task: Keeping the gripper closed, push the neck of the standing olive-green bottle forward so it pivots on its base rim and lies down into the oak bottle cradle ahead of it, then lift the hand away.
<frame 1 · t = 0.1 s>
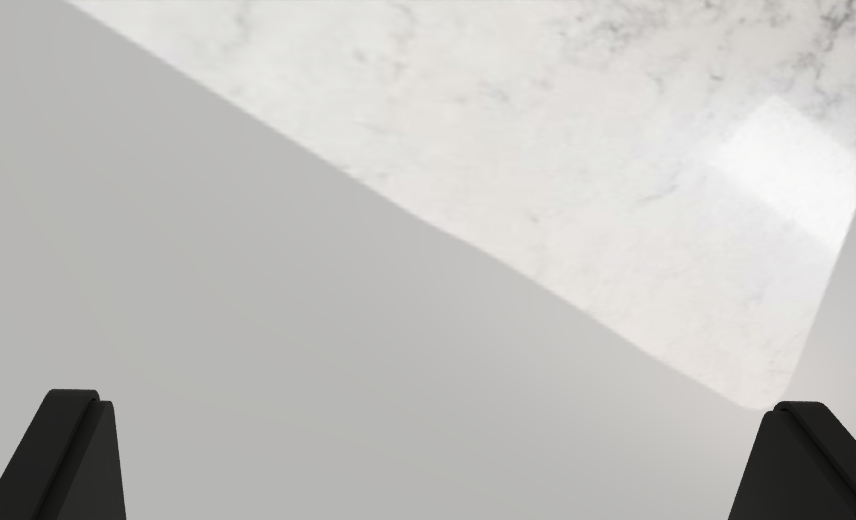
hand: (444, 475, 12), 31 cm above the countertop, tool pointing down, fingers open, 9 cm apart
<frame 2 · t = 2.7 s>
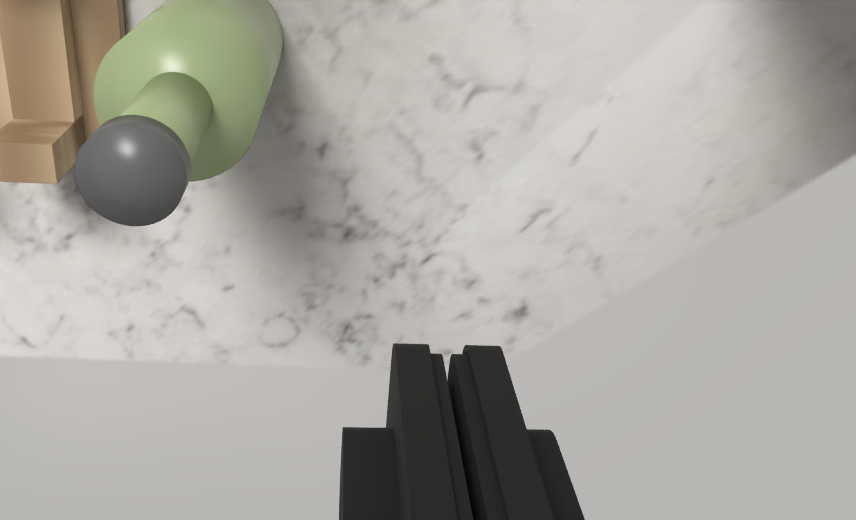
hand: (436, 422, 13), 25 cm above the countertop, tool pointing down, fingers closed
bottle: (223, 37, 34), on the countertop
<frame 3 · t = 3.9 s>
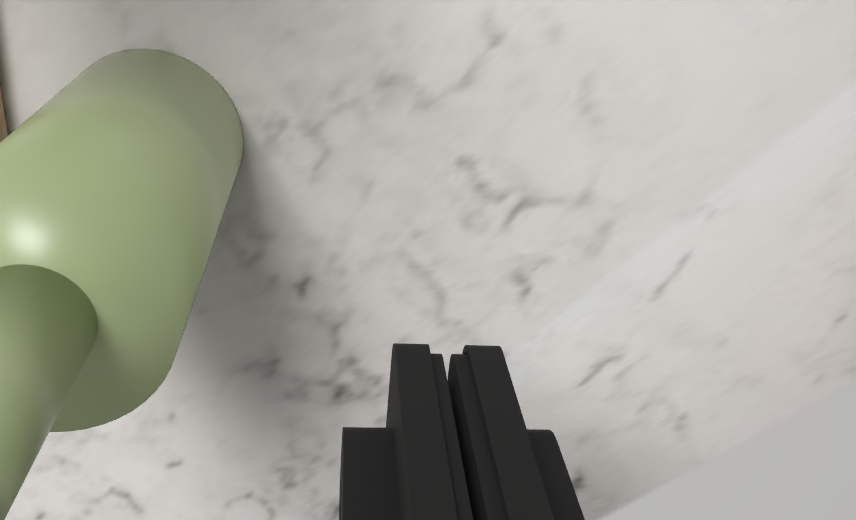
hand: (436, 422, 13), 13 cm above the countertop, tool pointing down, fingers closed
bottle: (154, 136, 23), on the countertop
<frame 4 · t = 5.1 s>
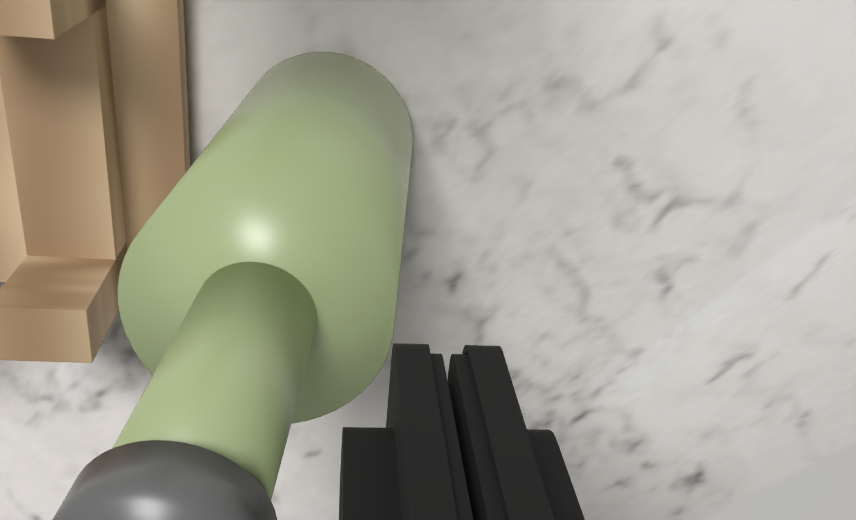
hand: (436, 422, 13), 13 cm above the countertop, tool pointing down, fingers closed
bottle: (327, 138, 23), on the countertop, tilted 5°
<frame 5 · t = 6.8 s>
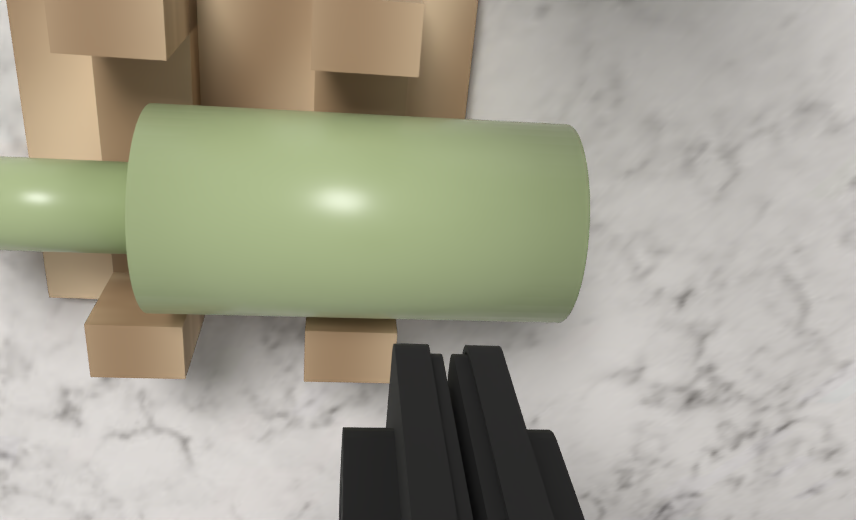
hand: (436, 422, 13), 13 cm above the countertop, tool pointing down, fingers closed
bottle: (558, 224, 20), point 4 cm above the countertop, tilted 90°, touching rest
rest: (252, 141, 23), on the countertop
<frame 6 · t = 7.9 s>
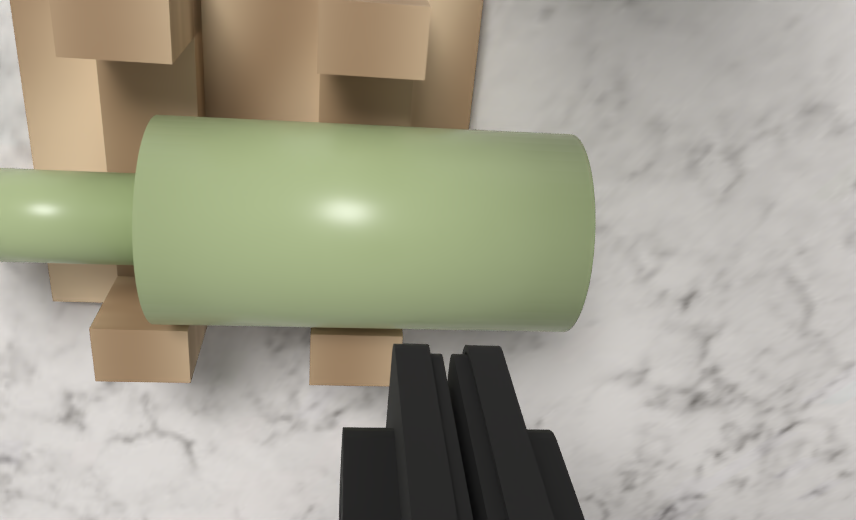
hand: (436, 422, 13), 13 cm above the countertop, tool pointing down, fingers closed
bottle: (563, 233, 20), point 4 cm above the countertop, tilted 90°, touching rest
rest: (257, 144, 23), on the countertop
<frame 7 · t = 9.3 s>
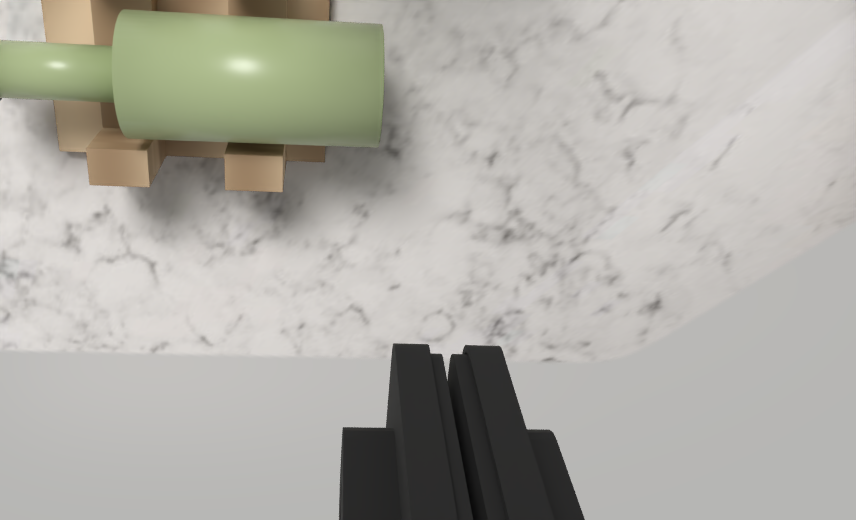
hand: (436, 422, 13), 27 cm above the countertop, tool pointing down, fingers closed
bottle: (379, 86, 33), point 4 cm above the countertop, tilted 90°, touching rest
rest: (192, 44, 36), on the countertop
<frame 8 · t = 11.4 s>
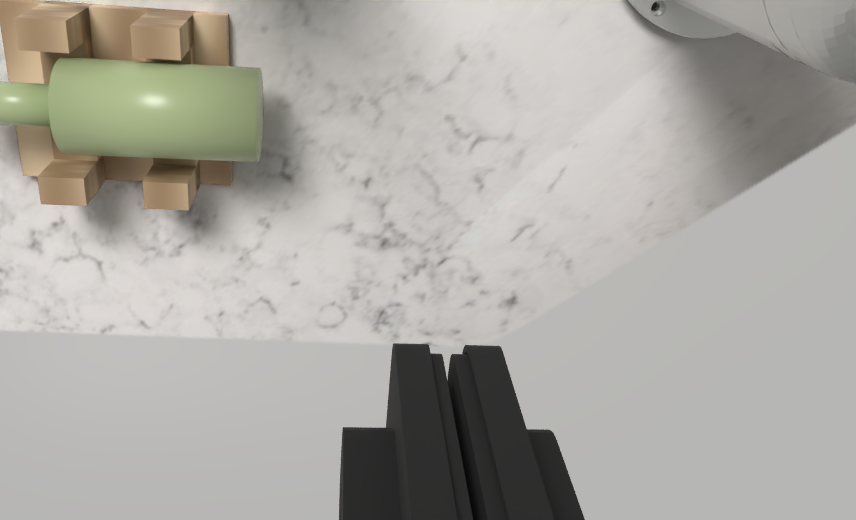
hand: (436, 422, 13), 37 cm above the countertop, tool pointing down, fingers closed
bottle: (259, 115, 43), point 4 cm above the countertop, tilted 90°, touching rest
rest: (124, 94, 46), on the countertop
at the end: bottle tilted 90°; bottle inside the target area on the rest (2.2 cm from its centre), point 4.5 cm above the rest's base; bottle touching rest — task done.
